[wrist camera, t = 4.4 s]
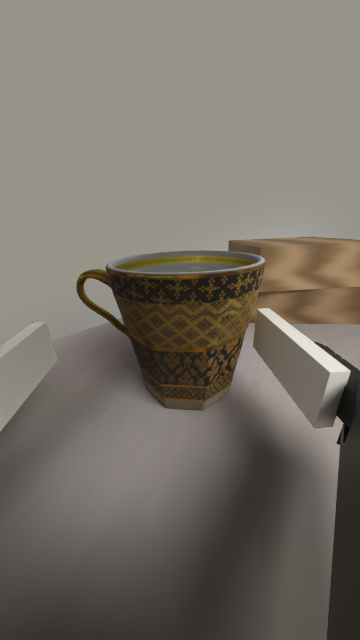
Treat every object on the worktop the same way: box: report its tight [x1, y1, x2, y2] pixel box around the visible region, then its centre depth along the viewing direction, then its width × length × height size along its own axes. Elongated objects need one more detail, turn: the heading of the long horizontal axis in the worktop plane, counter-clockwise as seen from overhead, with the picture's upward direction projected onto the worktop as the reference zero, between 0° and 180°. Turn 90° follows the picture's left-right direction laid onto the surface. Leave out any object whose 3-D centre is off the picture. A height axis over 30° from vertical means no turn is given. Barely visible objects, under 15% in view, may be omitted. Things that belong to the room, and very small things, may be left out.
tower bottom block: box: [249, 287, 360, 324], centre depth 33 cm, size 14×14×5 cm
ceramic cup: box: [77, 251, 266, 410], centre depth 16 cm, size 13×10×10 cm
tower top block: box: [228, 237, 360, 292], centre depth 31 cm, size 14×14×5 cm
